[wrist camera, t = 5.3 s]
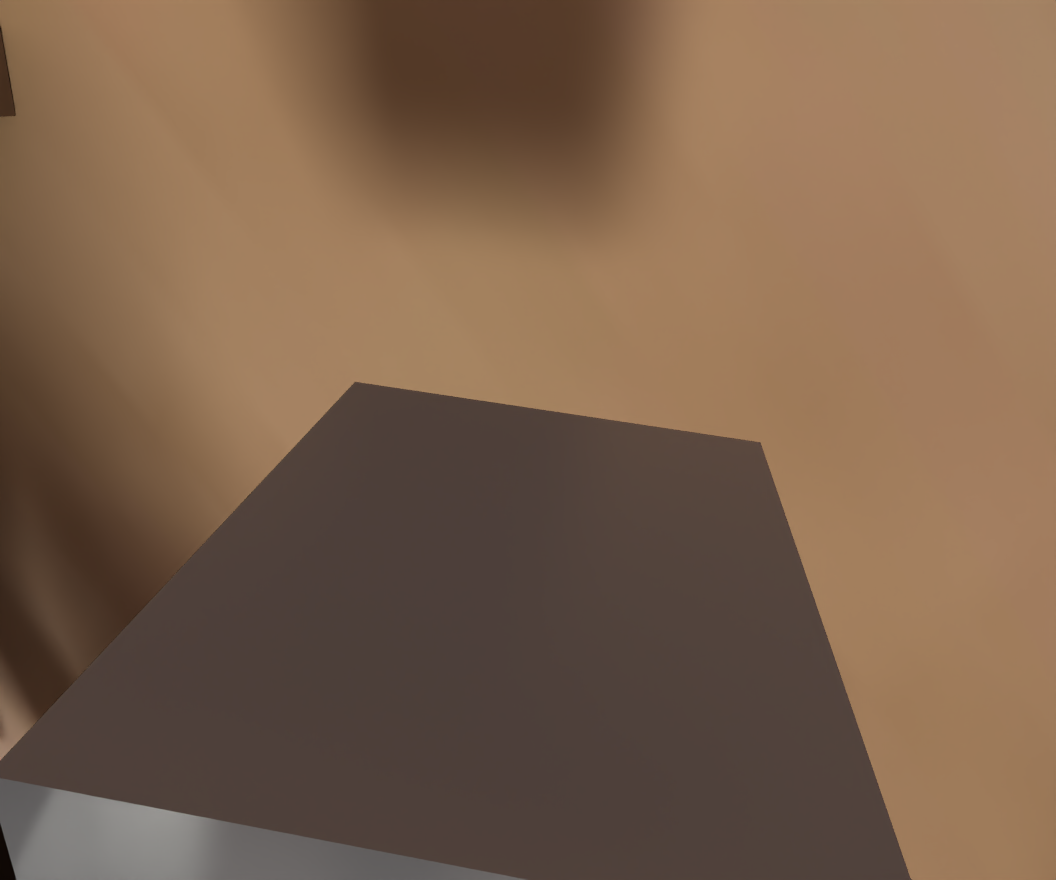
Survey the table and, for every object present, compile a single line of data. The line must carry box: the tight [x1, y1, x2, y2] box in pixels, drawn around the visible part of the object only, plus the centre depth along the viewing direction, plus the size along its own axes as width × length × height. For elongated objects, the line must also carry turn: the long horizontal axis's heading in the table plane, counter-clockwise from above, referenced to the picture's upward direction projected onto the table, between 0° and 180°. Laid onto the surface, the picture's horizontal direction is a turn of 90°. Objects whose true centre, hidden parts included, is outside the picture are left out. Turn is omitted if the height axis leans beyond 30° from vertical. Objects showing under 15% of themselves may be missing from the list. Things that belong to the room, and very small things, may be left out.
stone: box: [0, 382, 911, 880], centre depth 8 cm, size 5×5×6 cm
